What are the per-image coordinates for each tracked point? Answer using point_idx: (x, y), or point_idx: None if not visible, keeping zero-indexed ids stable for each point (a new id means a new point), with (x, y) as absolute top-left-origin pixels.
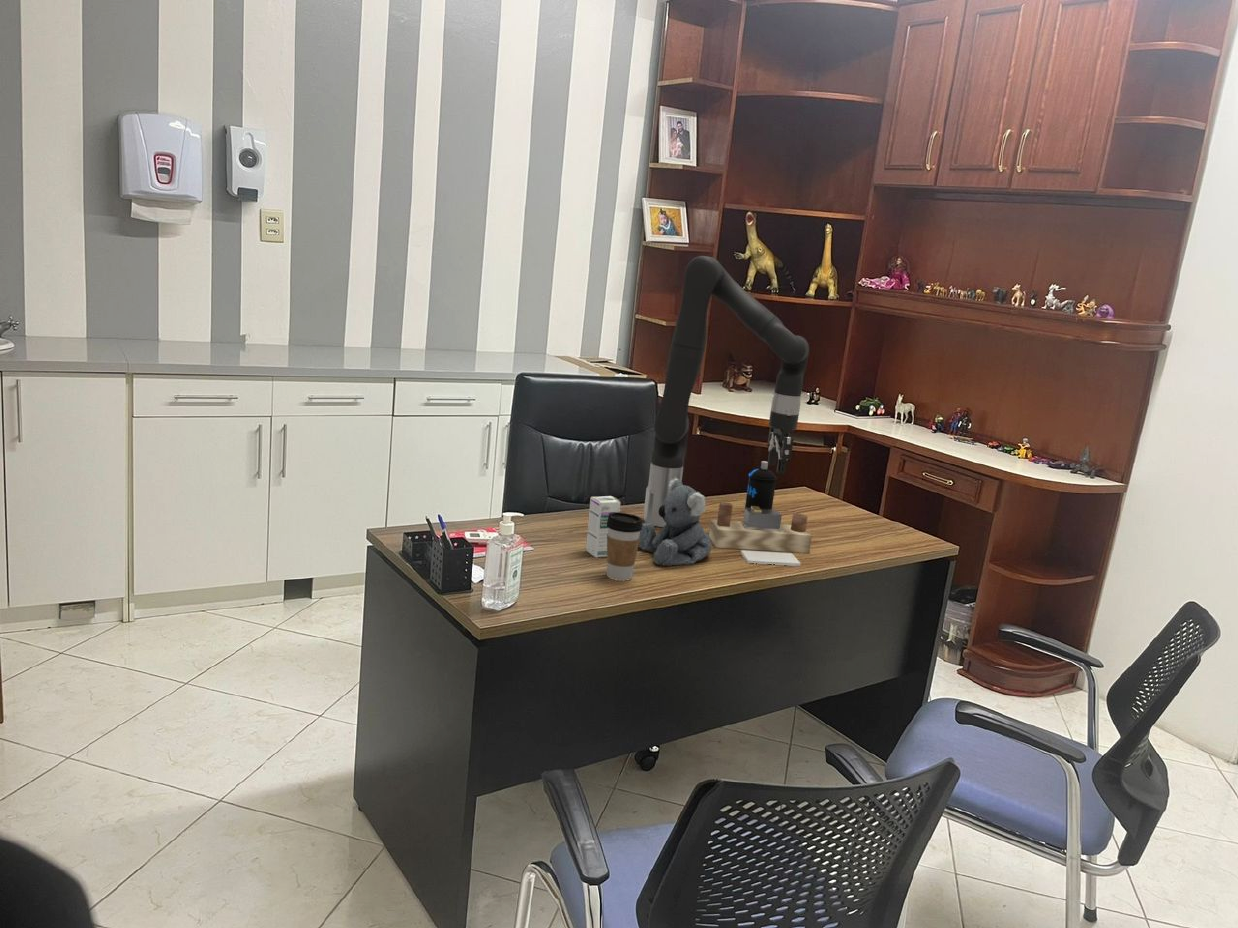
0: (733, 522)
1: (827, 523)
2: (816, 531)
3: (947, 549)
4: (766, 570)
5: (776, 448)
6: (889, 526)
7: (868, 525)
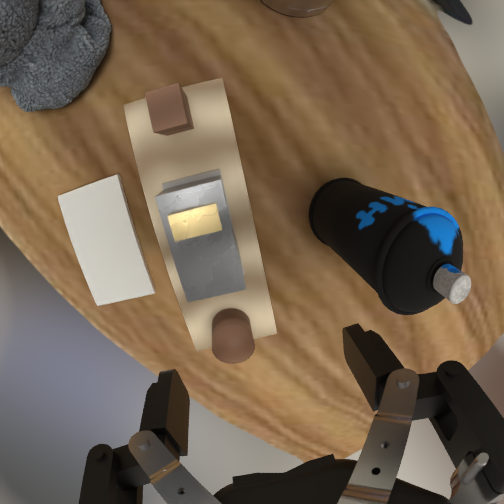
0: (220, 145)
1: (408, 350)
2: None
3: None
4: (42, 235)
5: (184, 477)
6: None
7: None
